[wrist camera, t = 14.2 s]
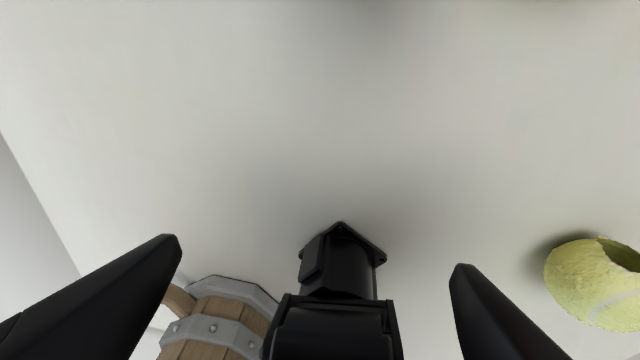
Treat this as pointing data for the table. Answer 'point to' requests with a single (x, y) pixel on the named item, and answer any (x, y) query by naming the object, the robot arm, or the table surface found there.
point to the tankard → (216, 320)
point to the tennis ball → (596, 282)
